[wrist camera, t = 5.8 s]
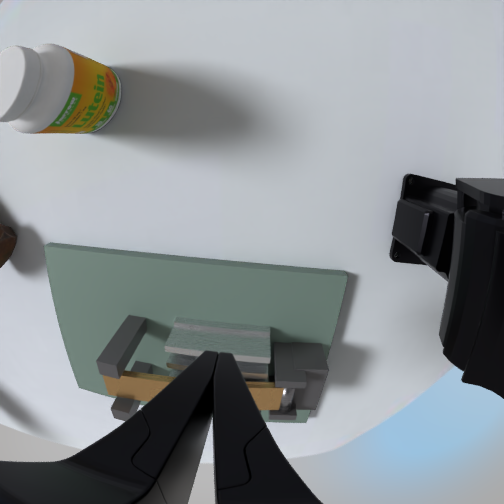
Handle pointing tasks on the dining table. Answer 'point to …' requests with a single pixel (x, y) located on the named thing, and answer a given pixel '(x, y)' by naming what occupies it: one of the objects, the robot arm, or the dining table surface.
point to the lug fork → (124, 361)
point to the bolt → (6, 243)
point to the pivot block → (299, 375)
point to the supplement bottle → (55, 90)
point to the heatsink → (220, 345)
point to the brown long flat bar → (151, 384)
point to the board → (182, 303)
